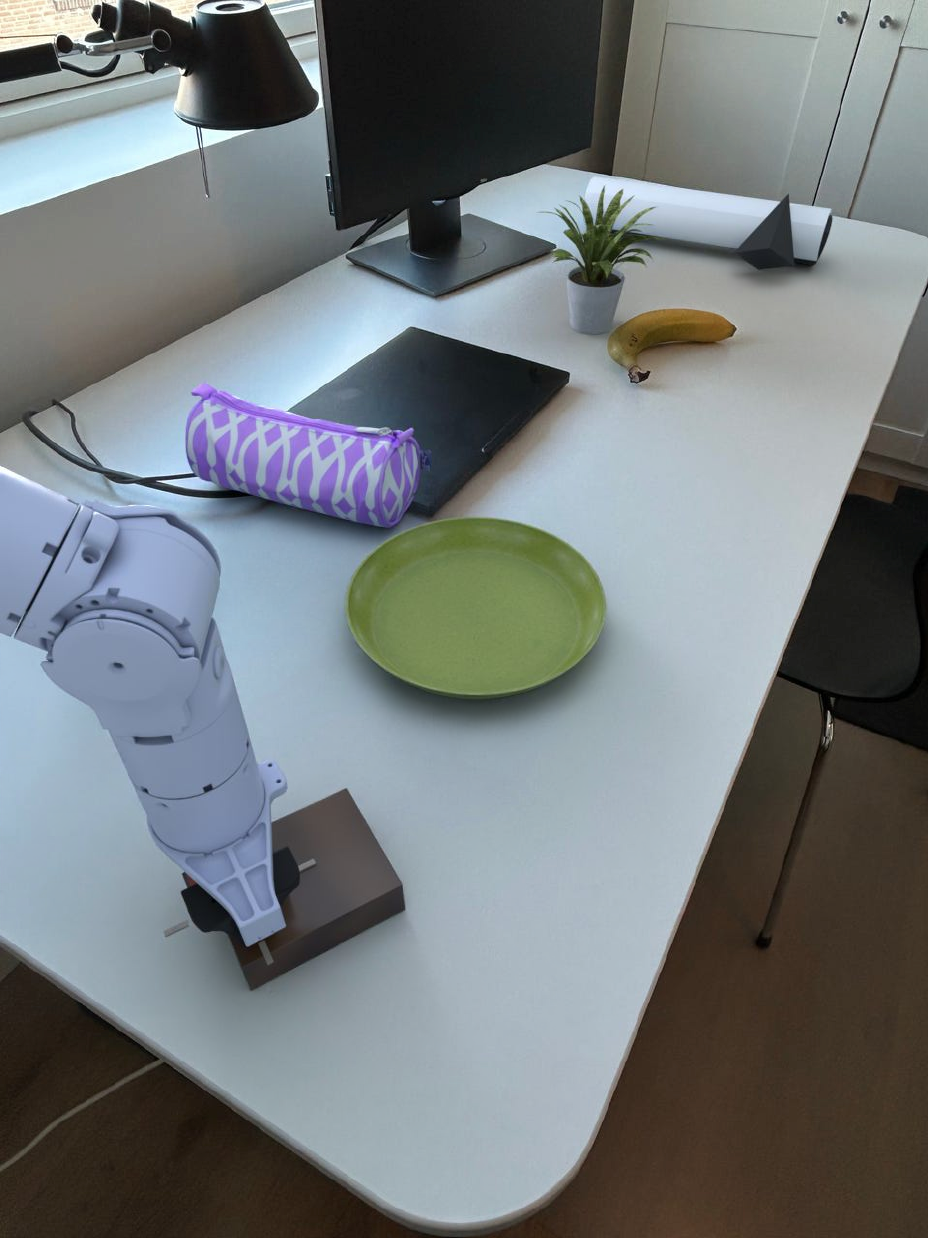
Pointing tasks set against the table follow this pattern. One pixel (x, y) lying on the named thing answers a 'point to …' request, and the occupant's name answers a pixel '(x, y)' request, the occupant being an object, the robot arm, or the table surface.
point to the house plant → (598, 264)
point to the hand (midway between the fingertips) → (241, 894)
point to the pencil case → (303, 459)
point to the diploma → (720, 221)
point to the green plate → (475, 607)
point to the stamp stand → (323, 888)
